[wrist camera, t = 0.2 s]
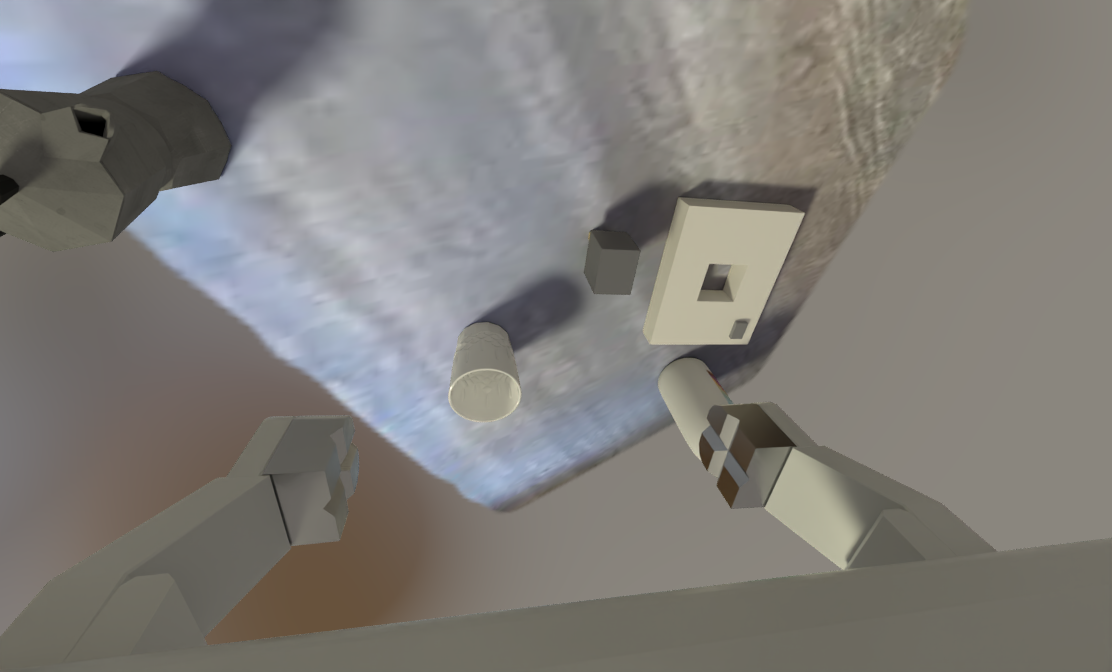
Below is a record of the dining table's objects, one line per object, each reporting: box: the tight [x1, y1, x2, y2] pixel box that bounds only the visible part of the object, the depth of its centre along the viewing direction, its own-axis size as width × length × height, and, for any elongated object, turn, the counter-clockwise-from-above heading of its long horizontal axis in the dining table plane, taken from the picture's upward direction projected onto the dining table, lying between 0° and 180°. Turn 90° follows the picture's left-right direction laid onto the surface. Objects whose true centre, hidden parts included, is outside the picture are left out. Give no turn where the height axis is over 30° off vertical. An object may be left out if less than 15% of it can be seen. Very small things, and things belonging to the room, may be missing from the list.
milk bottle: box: [658, 358, 733, 461], centre depth 56 cm, size 8×8×20 cm
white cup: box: [448, 322, 522, 422], centre depth 51 cm, size 8×8×10 cm
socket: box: [643, 197, 805, 344], centre depth 53 cm, size 18×14×4 cm
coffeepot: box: [0, 71, 231, 252], centre depth 30 cm, size 15×9×18 cm, turn 120°
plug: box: [584, 230, 640, 295], centre depth 47 cm, size 5×4×7 cm
